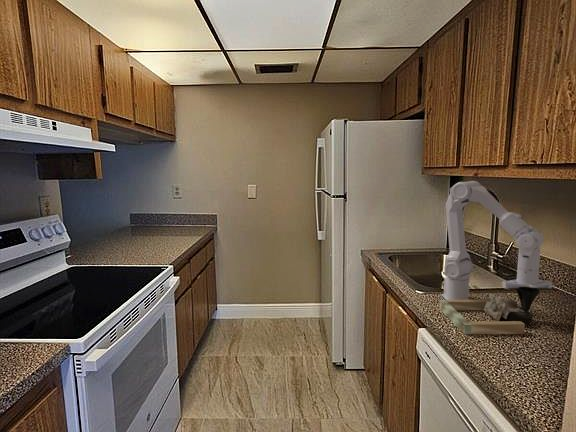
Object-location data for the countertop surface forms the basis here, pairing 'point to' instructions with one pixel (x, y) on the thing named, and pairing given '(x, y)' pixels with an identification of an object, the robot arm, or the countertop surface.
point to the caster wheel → (506, 310)
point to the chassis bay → (477, 327)
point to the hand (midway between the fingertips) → (525, 309)
